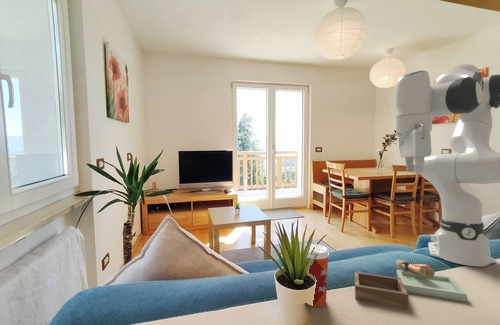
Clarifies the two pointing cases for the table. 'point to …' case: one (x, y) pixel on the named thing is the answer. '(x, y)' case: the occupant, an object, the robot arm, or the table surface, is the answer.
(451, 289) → the tray
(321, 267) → the red shaker can
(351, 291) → the table surface
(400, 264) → the grandmother figurine
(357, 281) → the holder
